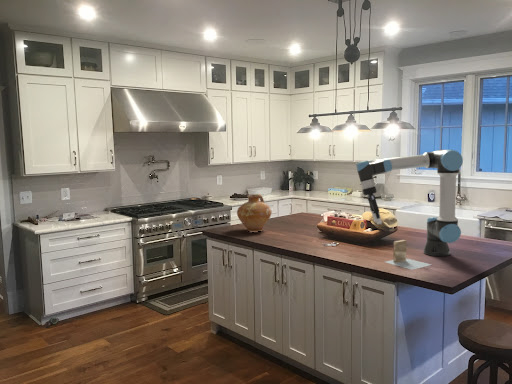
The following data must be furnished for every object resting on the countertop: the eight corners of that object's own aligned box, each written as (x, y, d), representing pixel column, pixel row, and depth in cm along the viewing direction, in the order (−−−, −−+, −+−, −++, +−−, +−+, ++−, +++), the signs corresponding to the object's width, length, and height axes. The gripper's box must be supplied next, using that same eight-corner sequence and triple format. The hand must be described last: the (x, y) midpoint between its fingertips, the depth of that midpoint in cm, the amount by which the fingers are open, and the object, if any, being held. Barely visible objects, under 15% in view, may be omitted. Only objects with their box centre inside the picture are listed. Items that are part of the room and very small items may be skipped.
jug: (230, 232, 361) (229, 195, 358) (251, 226, 383) (250, 192, 380) (258, 236, 344) (257, 197, 341) (278, 230, 366) (278, 193, 363)
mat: (383, 262, 261) (383, 261, 261) (403, 258, 270) (403, 257, 270) (411, 270, 244) (411, 269, 244) (431, 265, 253) (432, 264, 253)
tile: (393, 261, 260) (393, 241, 259) (402, 259, 265) (402, 239, 263) (396, 262, 258) (397, 242, 257) (406, 260, 262) (406, 240, 261)
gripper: (360, 188, 273) (369, 222, 272) (364, 189, 248) (374, 226, 248) (372, 185, 272) (381, 219, 271) (377, 186, 247) (387, 223, 247)
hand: (378, 222), depth 260 cm, fingers open, 13 cm apart
